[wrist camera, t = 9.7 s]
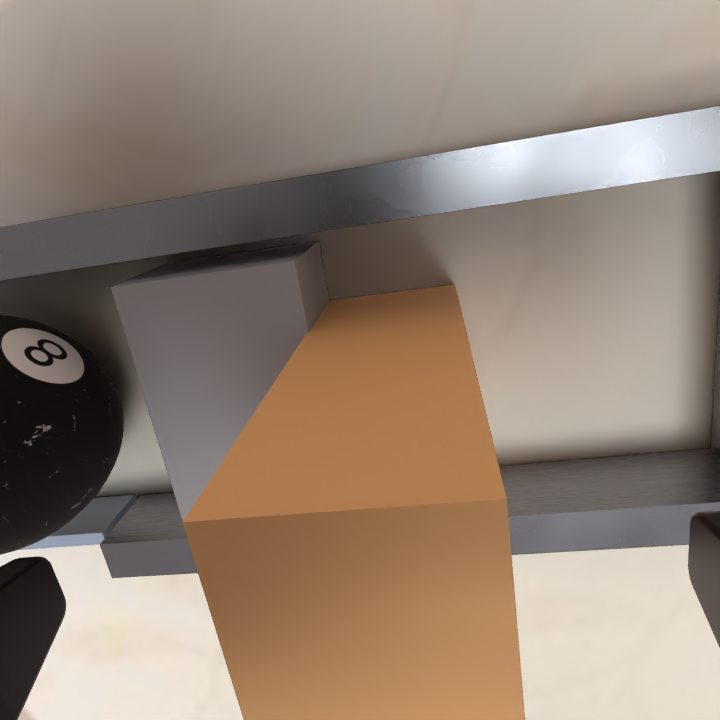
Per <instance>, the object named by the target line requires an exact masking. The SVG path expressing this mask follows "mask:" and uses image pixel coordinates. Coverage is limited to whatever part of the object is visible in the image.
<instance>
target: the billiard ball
mask: <svg viewBox="0 0 720 720" xmlns="http://www.w3.org/2000/svg"><path fill="white" fill-rule="evenodd" d="M122 437H123V410H122V405H121V401H120V397H119V394H118V392H117V389H116V387H115V385H114V383H113V381H112V379H111V377H110V376H109V374H108V373H107V371H106V370H105V368H104V367H103V366H102V364H101V363H100V362H99V361H98V360H97V358H96V357H95V356H94V355H93V354H92V353H91V352H90V351H88V350H87V349H86V348H85V347H84V346H82V345H81V344H80V343H78V342H77V341H75V340H74V339H72V338H71V337H69V336H68V335H66V334H64V333H62V332H60V331H58V330H56V329H54V328H52V327H49V326H47V325H44V324H41V323H38V322H35V321H31V320H28V319H24V318H18V317H13V316H5V315H0V554H4V553H8V552H12V551H16V550H19V549H21V548H24V547H27V546H29V545H32V544H34V543H36V542H38V541H40V540H42V539H44V538H46V537H47V536H49V535H51V534H53V533H54V532H56V531H57V530H59V529H60V528H62V527H63V526H64V525H66V524H67V523H68V522H70V521H71V520H72V519H73V518H74V517H76V516H77V515H78V514H79V513H80V512H81V511H82V510H83V509H84V508H85V507H86V506H87V505H88V504H89V503H90V502H91V500H92V499H93V498H94V497H95V496H96V495H97V493H98V492H99V490H100V489H101V488H102V486H103V485H104V483H105V482H106V480H107V478H108V477H109V475H110V473H111V471H112V469H113V467H114V465H115V462H116V460H117V457H118V454H119V451H120V447H121V443H122Z"/></svg>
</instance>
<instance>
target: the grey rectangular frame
mask: <svg viewBox="0 0 720 720" xmlns="http://www.w3.org/2000/svg"><path fill="white" fill-rule="evenodd" d="M714 171H720V106H716V107H710V108H705V109H699V110H693V111H687V112H681V113H675V114H669V115H663V116H657V117H651V118H645V119H639V120H633V121H628V122H622V123H616V124H610V125H604V126H598V127H592V128H586V129H580V130H574V131H568V132H562V133H556V134H551V135H545V136H539V137H533V138H527V139H521V140H515V141H509V142H503V143H497V144H491V145H485V146H479V147H474V148H468V149H462V150H456V151H450V152H444V153H438V154H432V155H426V156H420V157H414V158H408V159H403V160H397V161H391V162H385V163H379V164H373V165H367V166H361V167H355V168H349V169H343V170H337V171H331V172H326V173H320V174H314V175H308V176H302V177H296V178H290V179H284V180H278V181H272V182H266V183H260V184H254V185H249V186H243V187H237V188H231V189H225V190H219V191H213V192H207V193H201V194H195V195H189V196H183V197H177V198H172V199H166V200H160V201H154V202H148V203H142V204H136V205H130V206H124V207H118V208H112V209H106V210H100V211H95V212H89V213H83V214H77V215H71V216H65V217H59V218H53V219H47V220H41V221H35V222H29V223H23V224H18V225H12V226H6V227H0V280H5V279H12V278H18V277H25V276H31V275H38V274H45V273H51V272H58V271H64V270H71V269H77V268H84V267H90V266H97V265H104V264H110V263H117V262H123V261H130V260H136V259H143V258H149V257H156V256H163V255H169V254H176V253H182V252H189V251H195V250H202V249H209V248H215V247H222V246H228V245H235V244H241V243H248V242H254V241H261V240H268V239H274V238H281V237H287V236H294V235H300V234H307V233H313V232H320V231H327V230H333V229H340V228H346V227H353V226H359V225H366V224H373V223H379V222H386V221H392V220H399V219H405V218H412V217H418V216H425V215H432V214H438V213H445V212H451V211H458V210H464V209H471V208H478V207H484V206H491V205H497V204H504V203H510V202H517V201H523V200H530V199H537V198H543V197H550V196H556V195H563V194H569V193H576V192H582V191H589V190H596V189H602V188H609V187H615V186H622V185H628V184H635V183H642V182H648V181H655V180H661V179H668V178H674V177H681V176H687V175H694V174H701V173H707V172H714ZM499 469H500V473H501V477H502V481H503V486H504V490H505V494H506V498H507V508H508V520H509V532H510V544H511V555H518V554H535V553H552V552H570V551H587V550H604V549H621V548H639V547H656V546H673V545H689V533H690V521H691V518H692V516H693V515H694V514H695V513H696V512H703V511H717V510H720V286H719V304H718V323H717V342H716V361H715V379H714V398H713V417H712V435H711V449H698V450H686V451H674V452H662V453H650V454H638V455H625V456H613V457H601V458H589V459H577V460H564V461H552V462H540V463H528V464H516V465H504V466H499ZM182 522H183V520H182V517H181V514H180V511H179V507H178V504H177V501H176V498H175V495H174V493H162V494H150V495H141V496H140V497H139V498H138V499H137V500H136V502H135V503H134V504H133V505H132V506H131V508H130V509H129V510H128V511H127V512H126V514H125V515H124V516H123V517H122V518H121V520H120V521H119V522H118V523H117V524H116V526H115V527H114V528H113V529H112V530H111V532H110V533H109V534H108V535H107V536H106V538H105V539H104V540H103V541H102V542H101V544H100V547H101V549H102V552H103V555H104V557H105V560H106V563H107V565H108V568H109V571H110V573H111V576H112V578H121V577H138V576H156V575H173V574H190V573H198V571H197V568H196V564H195V561H194V558H193V555H192V552H191V548H190V545H189V542H188V539H187V535H186V532H185V529H184V526H183V523H182Z"/></svg>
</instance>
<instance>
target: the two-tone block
mask: <svg viewBox="0 0 720 720" xmlns="http://www.w3.org/2000/svg"><path fill="white" fill-rule="evenodd" d="M110 288H111V292H112V295H113V298H114V301H115V304H116V308H117V311H118V314H119V317H120V321H121V324H122V327H123V330H124V333H125V337H126V340H127V343H128V346H129V350H130V353H131V356H132V359H133V362H134V366H135V369H136V372H137V375H138V379H139V382H140V385H141V388H142V391H143V395H144V398H145V401H146V404H147V408H148V411H149V414H150V417H151V420H152V424H153V427H154V430H155V433H156V437H157V440H158V443H159V446H160V449H161V453H162V456H163V459H164V462H165V466H166V469H167V472H168V475H169V478H170V482H171V485H172V488H173V491H174V495H175V498H176V501H177V504H178V507H179V511H180V514H181V517H182V520H183V522H182V523H183V526H184V529H185V532H186V535H187V539H188V542H189V545H190V548H191V552H192V555H193V558H194V561H195V564H196V568H197V571H198V574H199V577H200V580H201V584H202V587H203V590H204V593H205V597H206V600H207V603H208V606H209V609H210V613H211V616H212V619H213V622H214V625H215V629H216V632H217V635H218V638H219V642H220V645H221V648H222V651H223V654H224V658H225V661H226V664H227V667H228V671H229V674H230V677H231V680H232V683H233V687H234V690H235V693H236V696H237V699H238V703H239V706H240V709H241V712H242V716H243V719H244V720H525V713H524V701H523V689H522V677H521V665H520V653H519V641H518V629H517V617H516V605H515V593H514V581H513V568H512V556H511V544H510V532H509V520H508V508H507V498H506V494H505V490H504V486H503V481H502V477H501V473H500V469H499V465H498V461H497V457H496V453H495V449H494V444H493V440H492V436H491V432H490V428H489V424H488V420H487V416H486V412H485V407H484V403H483V399H482V395H481V391H480V387H479V383H478V379H477V374H476V370H475V366H474V362H473V358H472V354H471V350H470V346H469V342H468V337H467V333H466V329H465V325H464V321H463V317H462V313H461V309H460V304H459V300H458V296H457V292H456V288H455V284H452V285H445V286H437V287H429V288H422V289H414V290H406V291H399V292H391V293H384V294H376V295H368V296H361V297H353V298H346V299H338V300H330V301H329V295H328V290H327V284H326V279H325V273H324V268H323V262H322V256H321V251H320V245H319V241H316V242H309V243H303V244H296V245H289V246H283V247H276V248H269V249H262V250H256V251H249V252H242V253H235V254H229V255H222V256H215V257H209V258H202V259H195V260H188V261H182V262H175V263H168V264H165V265H162V266H160V267H158V268H155V269H153V270H150V271H148V272H146V273H143V274H141V275H139V276H136V277H134V278H131V279H129V280H127V281H124V282H122V283H120V284H117V285H115V286H113V287H110Z"/></svg>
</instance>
